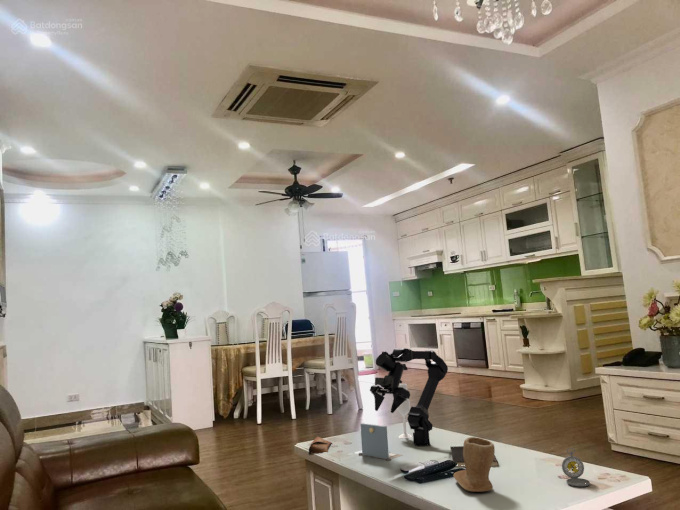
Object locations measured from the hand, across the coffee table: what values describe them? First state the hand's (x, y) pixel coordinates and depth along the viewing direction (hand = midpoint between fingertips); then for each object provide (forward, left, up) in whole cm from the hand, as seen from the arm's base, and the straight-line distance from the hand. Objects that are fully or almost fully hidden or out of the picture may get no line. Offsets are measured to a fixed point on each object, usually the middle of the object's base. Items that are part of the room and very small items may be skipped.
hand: (383, 411), depth 212 cm
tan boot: (-29, +44, -17) cm, 56 cm away
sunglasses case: (+29, -16, -18) cm, 38 cm away
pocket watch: (-60, +43, -17) cm, 76 cm away
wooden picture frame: (+2, +5, -17) cm, 18 cm away
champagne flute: (-8, -32, -17) cm, 37 cm away
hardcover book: (-33, +9, -18) cm, 39 cm away
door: (+5, +8, -16) cm, 19 cm away
